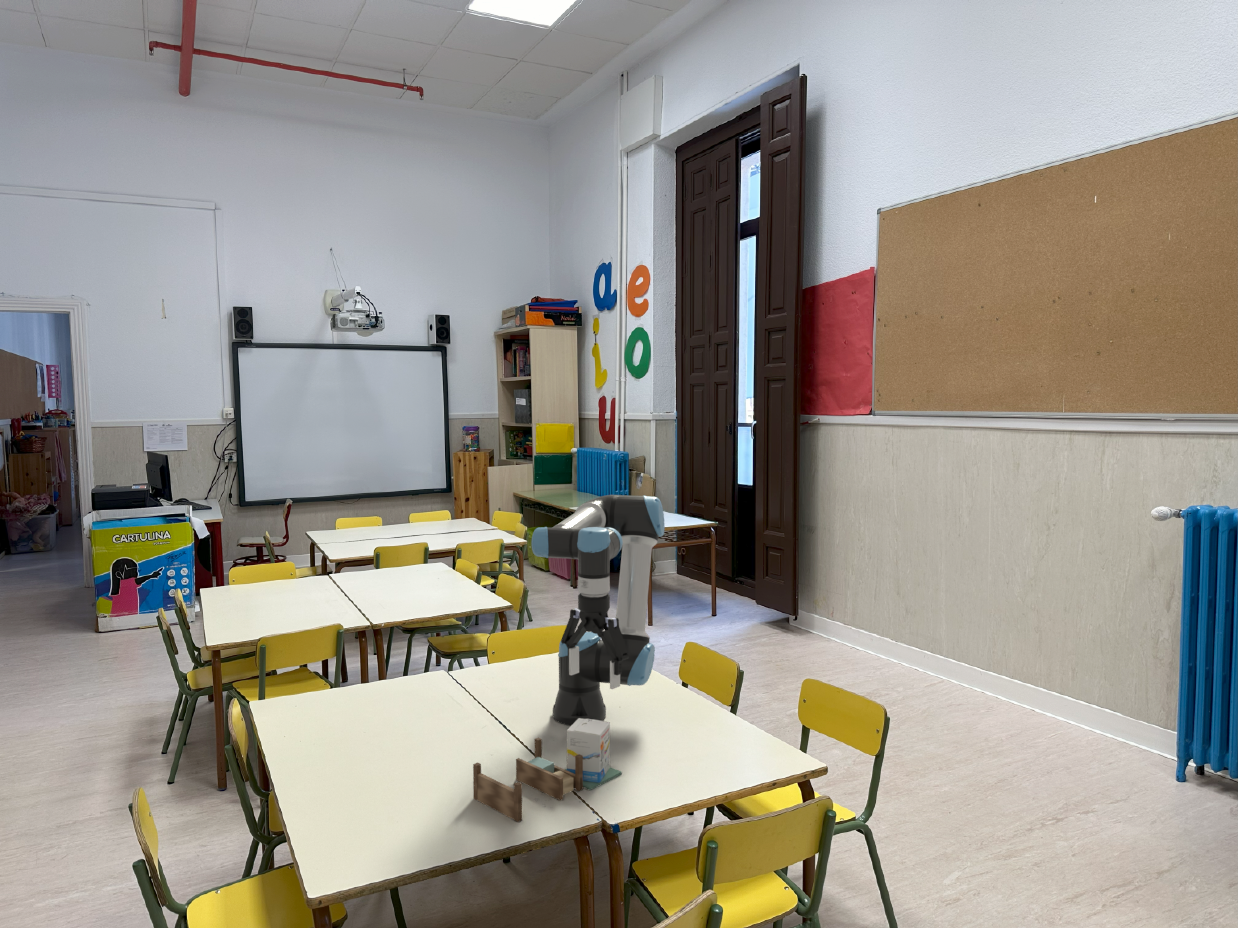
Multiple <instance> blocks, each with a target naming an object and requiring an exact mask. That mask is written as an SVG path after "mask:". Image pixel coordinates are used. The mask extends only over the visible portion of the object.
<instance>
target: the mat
mask: <svg viewBox="0 0 1238 928" xmlns="http://www.w3.org/2000/svg"><path fill="white" fill-rule="evenodd" d="M564 769H565V770H567V767H565V768H564ZM622 774H623V771H621V770H619V769H616V768H614V767H611V766H610V768H609V769H608V771H607V773H606V774H605V776H604V777H603V779H602V780H601V782H600V783H597V782H589V781H583V789H586V790H588V791H591V790H593V789H595V788H597V787H599V786H601V785H603V784H605V783H608V782H610V781H611V780H613V779H615V778H617V777H619V776H621V775H622Z"/></svg>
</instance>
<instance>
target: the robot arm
mask: <svg viewBox="0 0 1238 928" xmlns="http://www.w3.org/2000/svg"><path fill="white" fill-rule="evenodd" d="M664 535H665V513H664V508H663V504H662V502H661V500H660V498H659V497H656V496H648V495H644V494H643V495H623V494H622V495H621V494H607V495H602V496H598V497H595V498H592V499H590V500H587V501H585V502H584V503H582V504H581V505H579V506H578V507H577V508H576V510H575V512H573V514H571V515H569V516H568V517H567V518H565V519H564V520H562V521H561V522H559V523H558V524H555V525H554V526H553V527H547V526H544V527H536V528H535V529H534V531H533V532H532V535H531V550H532V553H533V555H534V556H536V557H538V558H539V557H541V558H546V559H551V558H552V559H572V560H577V582H578V583H577V591H578V595H577V607H576V608H572V609H570V610H569V611H570V613H569V619H568V621H567V623H566V626H565V629H564V631H563V634H562V637H561V640H560V642H559V645H558V654H557V657H558V691H557V694H556V698H555V702H554V704H553V707H552V719H554V721H556V722H558V723H559V724H562V725H566V726H572V725H573V723H574V722H575V721H576V720H577V719H578V718H582V719H593V720H600V721H604V720H605V718H606V717H607V707H606V704H605V702H604V697H603V694H602V692H601V685H600V684H603V683H604V684H609V689H611V690H615V689H617V688H619V687H621V685H624V686H629V687H630V686H631V687H632V686H644V685H645V684H646V683H647V682H648V681H649V679H650V676H651V673H652V671H653V667H654V661H655V651H656V650H655V644H653V643H652V642H650V640H651V638H650V636H649V635H648V634H647V632H646V624H647V623H646V622H647V621H646V619H647V610H648V598H649V586H650V574H651V572H650V571H651V562H652V549H653V548H654V546H656V545H657V544H658V543H659V542H658V540H659V537H660V538H661V537H663V536H664ZM620 551H621V556H620V557H621V560H620V568H619V569H620V570H619V578H618V579H619V580H618V588H617V600H616V601H617V602H616V611H615V616H614V617H609V614H608V613H609V610H610V607H611V604H610V603H611V601H610V600H611V595H610V594H609V592H610V591H611V588H610V587H611V583H610V581H611V580H610V577H611V576H610V570H611V569H610V565H611V564H610V563H611V562H610V561H611V560H612V559H614V558H616V557H617V556H618V554H619V553H620ZM579 622H580V623H579Z"/></svg>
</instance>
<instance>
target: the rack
mask: <svg viewBox="0 0 1238 928" xmlns="http://www.w3.org/2000/svg"><path fill="white" fill-rule="evenodd" d="M542 742H543V740H542V738H540V737H536V738H534V758H536V757H540V758H543V756H542V755H543V750H542V749H543V743H542ZM472 769H473V770H472V771H473V775H472V776H473V781H472V782H473V800H475V801H478V802H479V803H482V804H484V805H486V806H487V807H489V808H490V809H493V810H494V811H496V812H498V813H501V814H502V815H503V816H506V817H508V818H510V819H512V820H514V821H515V822H517V823H519V822H521V821H523V784H524V785H527V786H528V787H531V788H533V789H535V790H537V791H539V792H541V793H543V794H545V795H547V796H549V797H551V798H554V799H556V800H557V801H558V800H559V801H560V802H561V801H562V800H564V795H563V778H562V777H560V776H558V775H556V774H553V773H551V772H549V771H547V770H544V769H542V768H540V767H538V766H535V765H533V764H531V763H529V762H528V761H526V760H523V759H522V758H520V757H518V758H516V759H515V780H516V782H515V783H513V788H512V787H511V786H509V785H506V784H505V783H502V782H500V781H499V780H496V779H494V778H492V777H490V776H488V775H486V774H484V773H482V764H481V763H480V762H476V763H473V765H472ZM565 769H566V768H562V767H559V766H558V765H555V764H554V773H555V772H557V771H562V772H564V773H566V774H567V775H569V776H571V777H573V790H575V791H578V792H581V791H583V789H584V788H583V756H582V755H580V754H578V755H576V756H575V774H574V773H571V772H569V771H567V770H565Z"/></svg>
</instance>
